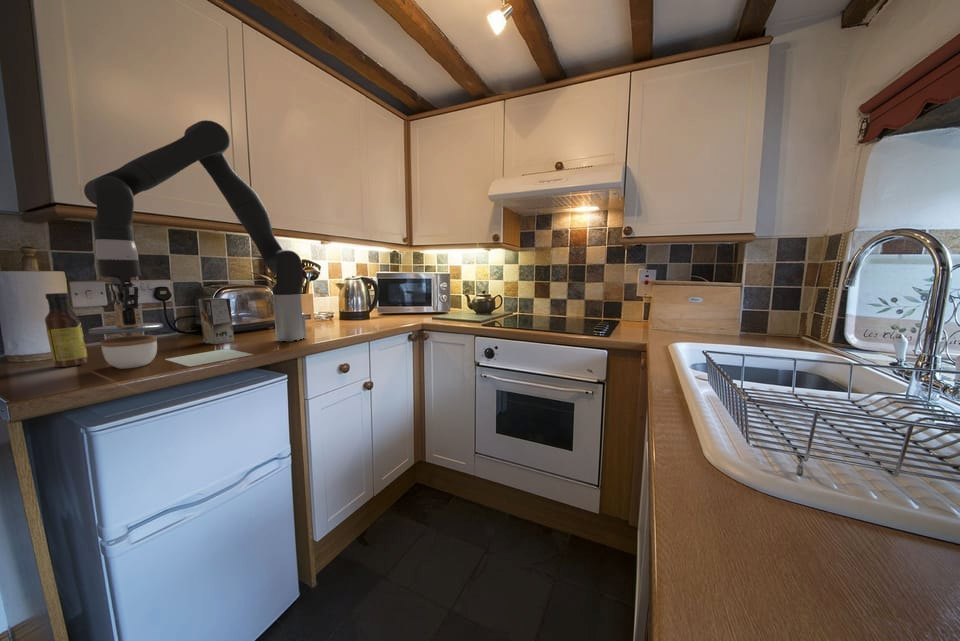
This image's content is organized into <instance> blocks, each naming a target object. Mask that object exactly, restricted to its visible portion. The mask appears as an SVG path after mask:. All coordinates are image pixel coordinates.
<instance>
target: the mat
mask: <svg viewBox="0 0 960 641" xmlns="http://www.w3.org/2000/svg"><path fill="white" fill-rule="evenodd" d="M253 355H254V354H253V353H248V352H244V351H239V350H236V349H229V348H224V349H217V350H211V351H205V352H199V353H194V354H189V355H188V354H186V355H182V356H176V357H169V358H165V359H164V360H165V361H169V362H172V363H175V364H179V365H182V366H184V367H195V366H202V365H205V364H206V365H207V364H211V363H212V364H213V363H216V362H217V363H218V362H222V361H228V360H232V359H237V358H243V357H247V356H248V357H249V356H253Z"/></svg>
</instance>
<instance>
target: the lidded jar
mask: <svg viewBox="0 0 960 641" xmlns="http://www.w3.org/2000/svg"><path fill="white" fill-rule="evenodd" d="M157 341H158V337H157V336H156V335H154V334H140V335H139V334H138V335H132V333H125V336H118V337H112V338H111V337H110V338H105V339H103V340H101V341H100V342H99V344H100V346H101V353H102V355H103V357H104V360H105V361H106V362H107V363H108V364H109V365H111V367H114V368H117V369H122V370H123V369H132V368H139V367H144V366H147V365H149V364H150V363H152V361H154V359H155V357H156V355H157V352H158V342H157Z"/></svg>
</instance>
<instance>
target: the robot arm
mask: <svg viewBox="0 0 960 641" xmlns="http://www.w3.org/2000/svg"><path fill="white" fill-rule="evenodd" d="M183 134H184V135H183V136H182V137H180V138H178V139H176V140H174V141H172V142H170V143H169V144H166V145H164V146H161V147H159V148H156V149H154V150H151V151H149V152H147V153H144V154H142V155H141V156H138V157H136V158H135V159H132V160H130V161H129V162H127V163H125V164H124V165H122V166H121V167H119V168H117V169H114V170H111V171H110V172H108V173H107V172H106V173H105V174H102V175H100V176H98V177H96V178H94V179H92V180H89V181H88V182H87V183H86V184H85V186H84V187H83V188H84V189H83V192H84V195H85V198H86V199H87V200H88V201H89V202H90V203H91V204H93V205H95V206H96V216H95V217H94V219H93V232H94V237H95V238H94V239H95V254H96V262H97V267H98V269H97V270H98V273H99V277H102V278H110V284H109V285H108V286H107V290H108V294H109V297H110V300H111V306H112V307H113V308H114V305H115V304H120V305H121V310H122V314H123V321H124V324H125V325H134V324H136V319H135V311H134V310H135V309H138V308H139V288H138V286H136V285H135V284H134V283H133V280H132V278H135V277H136V278H138V277H141V268H140V261H139V253H138V248H137V246H136V243H135V234H134V228H133V220H134V219H133V218H134V208H135V206H134V205H135V200H134V197H135V196H136V195H138V194H141V193H142V192H145V191H148V190H151V189H153V188H155V187H157V186H159V185H161V184H162V183H163V182H165V181H168V180H169V179H171V178H172V177H173V176H175V175H177V174H179V173H180V172H182V171H183V170H185V169H186V168H188V167H189V166H191V165H193V164H195V163H197V162H199V164H201V166H202V167H203V168H204V169H205V170H206V173H208V175H209V176H210V178H211V179H212V180H213V182H214V184H215V185H216V187H217V188H218V190H219V191H220V192H221V194H222V196H223V197H224V199H225V200H226V202H227V203H228V206H230V208H231V210H232V212H233V213H234V215H235V216H236V218H237V219H238V220H239V222H240V224H241V225H242V226H243V228H244V229H245V231H246V233H247V234H248V236H249V237H250V239H251V240H252V242H253V243H254V245H255V247H256V248H257V250H258V252H259V254H260V256H261V258H262V260H263V262H264V264H265V265H266V268H267V269H268V270H269V271H270V272H271V273H272V274H274V275H276V282H275V284H274V285H273V287H272V288H271V289H272V303H273V314H274V325H275V327H274V328H275V339H276V341H277V342H282V341H286V342H295V341H294V340H297V341H301V340H300V339H302V340H303V338H304V339H307V329H306V328H307V327H306V314H305V313H304V312H303V304H302V294H301V293H302V291H301V290H302V287H303V263H302V260H301V258H300V255H299V254H298V253H296V252H295V251H293V250H290V249H289V250H288V249H286V250H285V249H283V247H282V246H281V245H280V243H279V241H278V240H277V239H276V236H275V235H274V232H273V228H272V224H271V220H270V219H271V218H270V215H269V212H268V209H267V208H266V207H265V205H264V203H263V202H262V200H261V198H260V196H259V195H258V194H257V192H256V191H255V189H253V188H252V187H251V186H250V185H249V184H248V183H247V182H246V181H245V180H244V179H242V178H241V177H240V176H239V175H238V174H237V173H236V172H235V171H234V170H233V168H232V167H231V165H230V164H229V162H228V161H227V159H226V157H225V155H224V154H225V152H227V151H228V149H229V148H230V146H231V137H230V135H229V132H228V131H227V130H226V128H225V127H223V125H221V124H219V123H218V122H215V121H213V120H201V121H200V120H199V121H197V122H196V123H194V124H191V125H190V126H188V127H187V128H186V129H185V130H184V133H183Z"/></svg>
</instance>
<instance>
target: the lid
mask: <svg viewBox="0 0 960 641" xmlns="http://www.w3.org/2000/svg"><path fill="white" fill-rule="evenodd" d="M113 308H114V314H115V321H116V324H114V325H106V326H105V325H104V326H98V327H93V328H89V329H88V334H89V335H120V334H126V333H131V334H132V333H142V332H150V331H155V330H160V329H163V328H164V324H163V323H161V322H143V323H142V322H140V323H139V322H138V318H137V310H136V309H137V308H136V309H135V310H134V311H135V319H136V324H134V325H125V324H124V321H123V314H122V310H121V305H120V304H115V305H114V307H113Z"/></svg>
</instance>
